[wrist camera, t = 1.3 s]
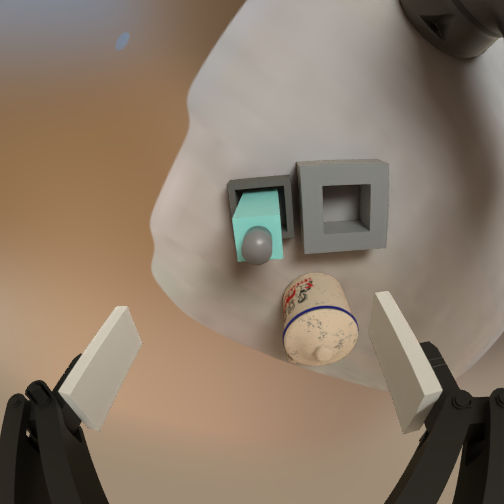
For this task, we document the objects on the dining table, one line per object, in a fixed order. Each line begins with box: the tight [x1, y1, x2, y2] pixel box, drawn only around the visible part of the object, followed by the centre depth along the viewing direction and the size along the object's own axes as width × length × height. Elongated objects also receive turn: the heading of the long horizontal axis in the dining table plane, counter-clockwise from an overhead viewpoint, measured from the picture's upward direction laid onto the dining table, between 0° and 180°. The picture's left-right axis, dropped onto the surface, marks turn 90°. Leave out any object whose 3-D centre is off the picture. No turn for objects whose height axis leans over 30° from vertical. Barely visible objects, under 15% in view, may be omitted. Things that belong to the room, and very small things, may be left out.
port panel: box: [296, 159, 389, 254], centre depth 32 cm, size 10×10×4 cm
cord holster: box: [227, 175, 294, 239], centre depth 33 cm, size 7×7×2 cm
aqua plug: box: [232, 188, 283, 265], centre depth 28 cm, size 4×4×14 cm
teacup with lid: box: [283, 273, 358, 366], centre depth 35 cm, size 12×9×12 cm
